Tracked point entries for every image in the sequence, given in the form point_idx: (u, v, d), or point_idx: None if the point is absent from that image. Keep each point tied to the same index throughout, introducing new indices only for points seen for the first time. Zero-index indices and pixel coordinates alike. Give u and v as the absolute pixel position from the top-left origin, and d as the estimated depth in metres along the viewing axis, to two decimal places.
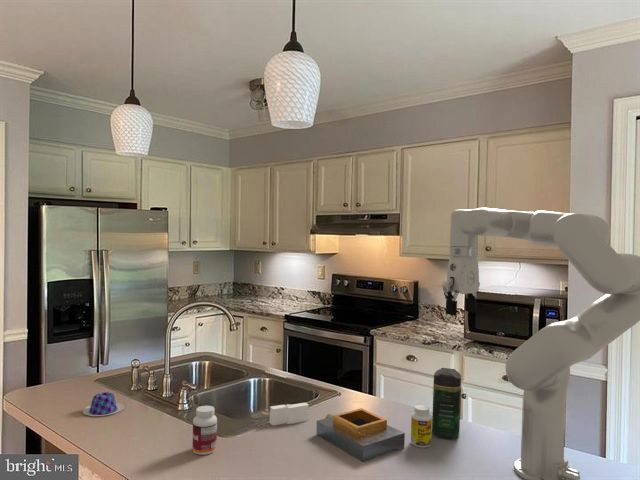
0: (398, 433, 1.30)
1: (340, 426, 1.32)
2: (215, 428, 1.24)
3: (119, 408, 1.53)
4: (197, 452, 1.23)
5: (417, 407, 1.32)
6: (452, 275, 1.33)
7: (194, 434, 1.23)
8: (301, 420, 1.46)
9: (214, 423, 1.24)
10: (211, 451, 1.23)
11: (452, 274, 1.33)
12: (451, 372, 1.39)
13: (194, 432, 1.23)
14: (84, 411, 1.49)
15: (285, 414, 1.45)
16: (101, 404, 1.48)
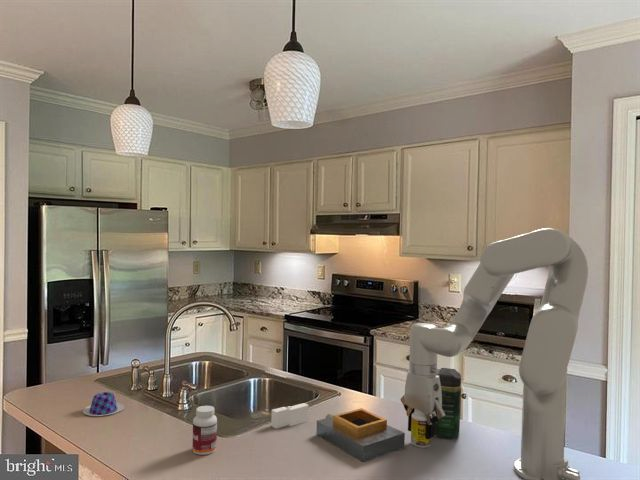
0: (398, 433, 1.30)
1: (340, 426, 1.32)
2: (215, 428, 1.24)
3: (119, 408, 1.53)
4: (197, 452, 1.23)
5: None
6: (437, 398, 1.28)
7: (194, 434, 1.23)
8: (302, 421, 1.46)
9: (214, 423, 1.24)
10: (211, 451, 1.23)
11: (436, 395, 1.29)
12: (451, 372, 1.39)
13: (194, 432, 1.23)
14: (84, 411, 1.50)
15: (286, 417, 1.43)
16: (101, 404, 1.48)
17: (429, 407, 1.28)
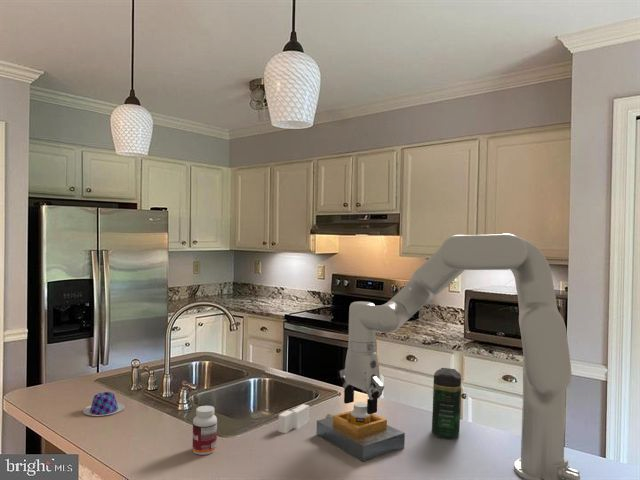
0: (398, 433, 1.30)
1: (340, 426, 1.32)
2: (215, 428, 1.24)
3: (119, 409, 1.53)
4: (197, 452, 1.23)
5: (356, 404, 1.33)
6: (373, 373, 1.30)
7: (194, 434, 1.23)
8: (304, 422, 1.45)
9: (214, 423, 1.24)
10: (211, 451, 1.23)
11: (373, 372, 1.30)
12: (451, 372, 1.39)
13: (194, 432, 1.23)
14: (85, 410, 1.50)
15: (292, 420, 1.41)
16: (100, 403, 1.48)
17: (366, 384, 1.29)
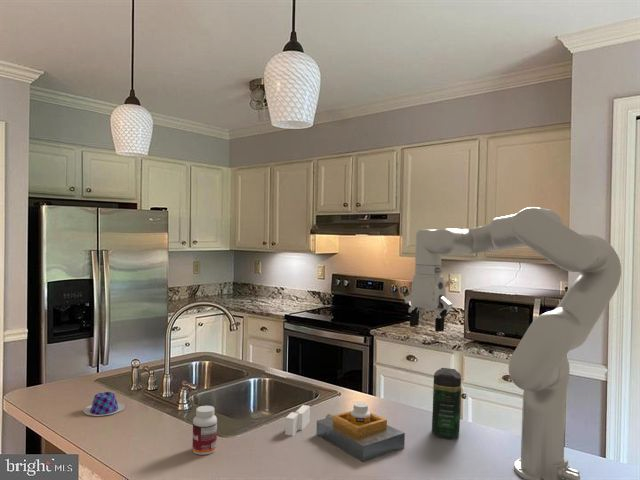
0: (398, 433, 1.30)
1: (340, 426, 1.32)
2: (215, 428, 1.24)
3: (119, 409, 1.52)
4: (197, 452, 1.23)
5: (356, 404, 1.34)
6: (441, 293, 1.38)
7: (194, 434, 1.23)
8: (307, 423, 1.44)
9: (214, 423, 1.24)
10: (211, 451, 1.23)
11: (440, 292, 1.38)
12: (451, 372, 1.39)
13: (194, 432, 1.23)
14: (86, 409, 1.51)
15: (298, 421, 1.40)
16: (99, 403, 1.49)
17: (434, 303, 1.37)
